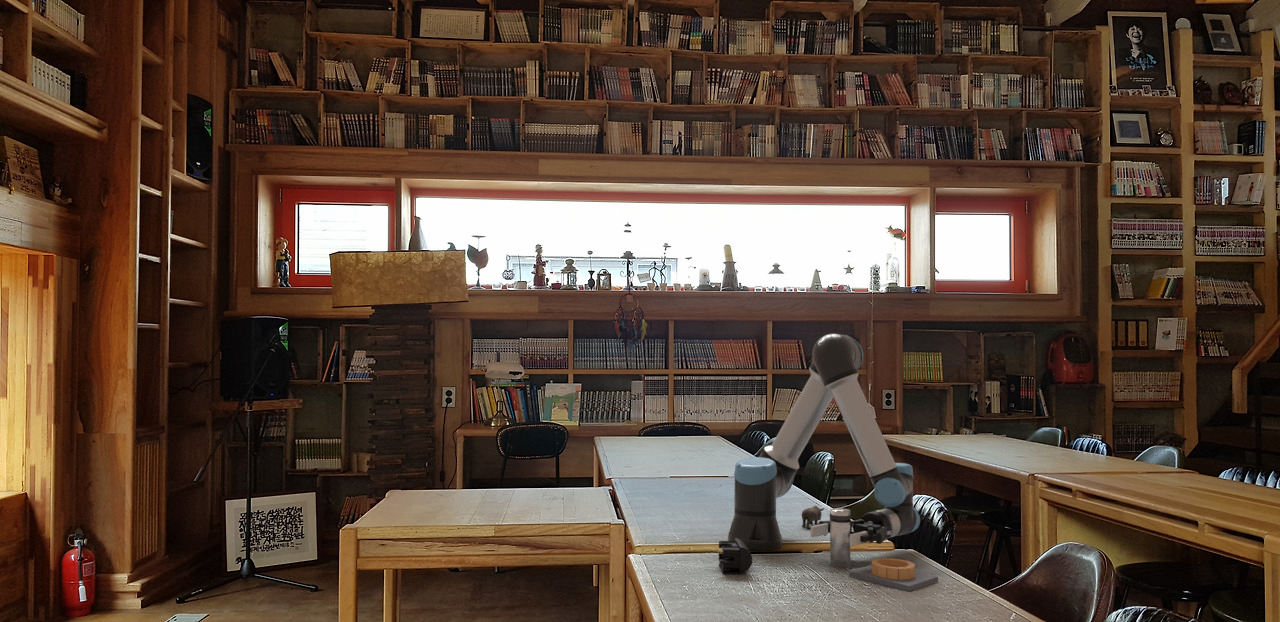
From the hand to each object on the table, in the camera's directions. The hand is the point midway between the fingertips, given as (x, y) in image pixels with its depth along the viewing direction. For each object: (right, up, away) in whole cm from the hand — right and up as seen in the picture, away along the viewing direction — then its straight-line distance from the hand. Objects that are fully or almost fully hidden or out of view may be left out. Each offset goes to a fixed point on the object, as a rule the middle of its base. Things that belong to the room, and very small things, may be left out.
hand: (830, 536), depth 202 cm
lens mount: (+13, -8, -9) cm, 17 cm away
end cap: (-24, -8, -3) cm, 26 cm away
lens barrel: (+3, -8, +2) cm, 9 cm away
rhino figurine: (+7, -11, +52) cm, 54 cm away
